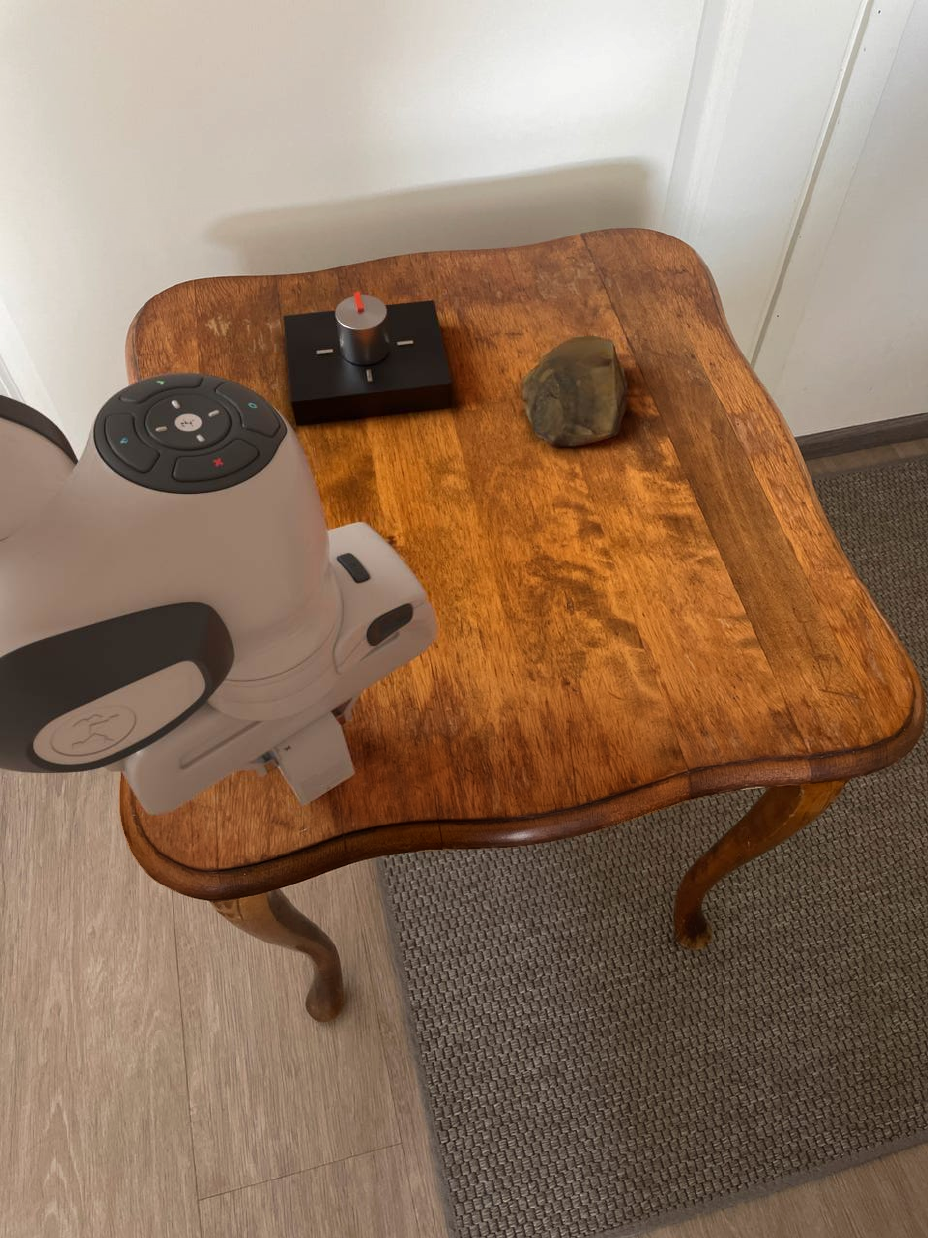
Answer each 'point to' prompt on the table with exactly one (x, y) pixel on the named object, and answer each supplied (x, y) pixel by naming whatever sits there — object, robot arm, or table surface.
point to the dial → (363, 329)
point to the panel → (367, 368)
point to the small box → (315, 759)
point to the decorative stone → (576, 393)
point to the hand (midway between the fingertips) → (301, 739)
